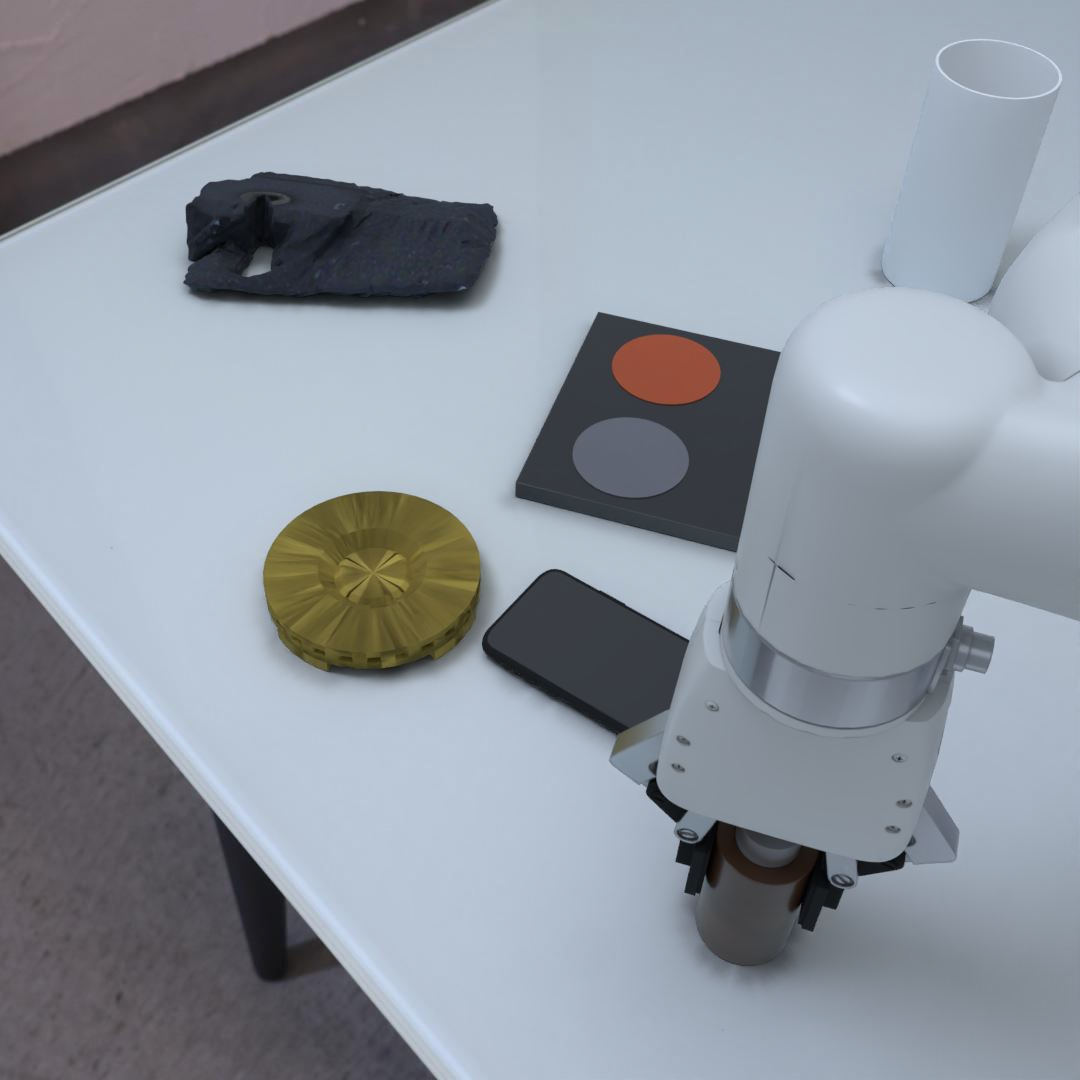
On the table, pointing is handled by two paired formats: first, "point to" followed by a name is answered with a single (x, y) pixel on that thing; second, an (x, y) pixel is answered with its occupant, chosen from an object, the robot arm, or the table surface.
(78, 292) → the table surface
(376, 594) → the gold round disc
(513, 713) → the table surface
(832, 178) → the table surface
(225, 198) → the dark slate chunk
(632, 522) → the hob
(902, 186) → the cup
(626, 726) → the smartphone
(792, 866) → the pepper mill
